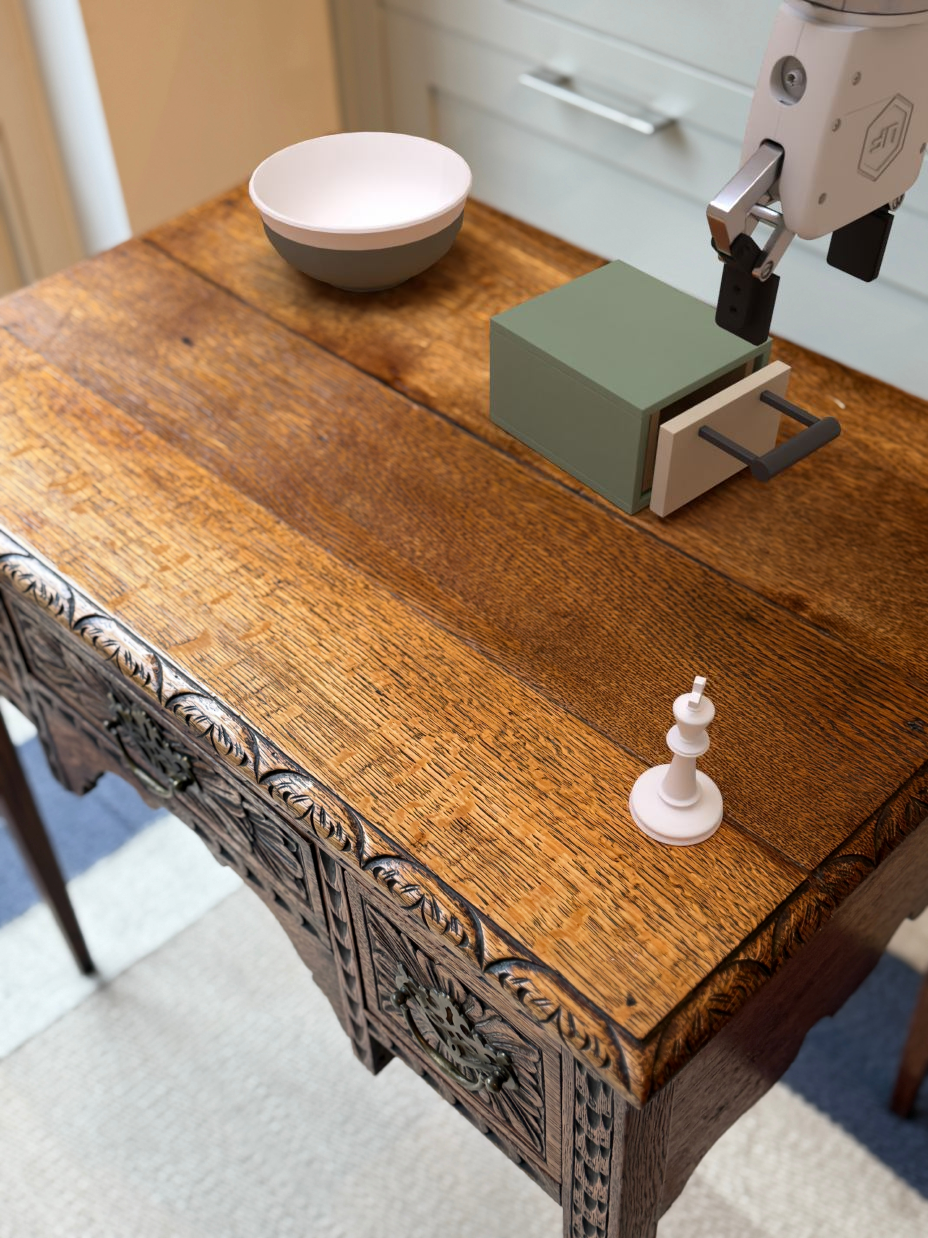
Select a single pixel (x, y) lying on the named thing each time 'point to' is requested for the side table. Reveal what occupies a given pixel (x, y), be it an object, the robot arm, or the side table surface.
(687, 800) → the chess piece
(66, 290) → the side table surface
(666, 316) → the cabinet
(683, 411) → the drawer
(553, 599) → the side table surface
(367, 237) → the bowl
